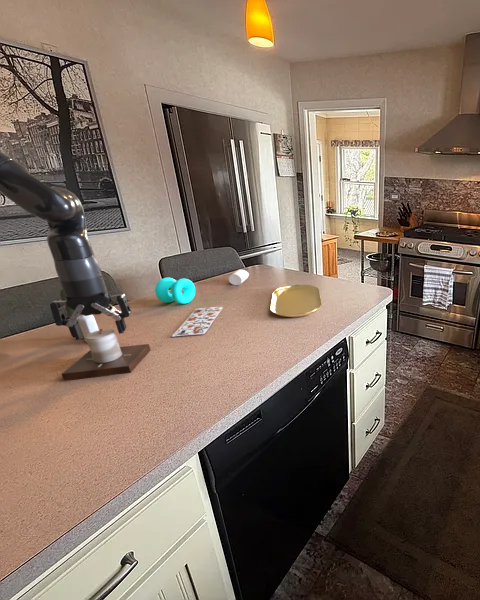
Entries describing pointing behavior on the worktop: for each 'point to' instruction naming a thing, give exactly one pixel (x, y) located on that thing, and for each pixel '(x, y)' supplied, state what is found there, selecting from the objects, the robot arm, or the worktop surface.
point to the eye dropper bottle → (87, 325)
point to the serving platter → (295, 300)
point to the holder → (107, 364)
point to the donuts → (175, 290)
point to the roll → (238, 277)
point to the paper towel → (198, 321)
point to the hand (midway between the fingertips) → (101, 335)
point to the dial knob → (104, 345)
